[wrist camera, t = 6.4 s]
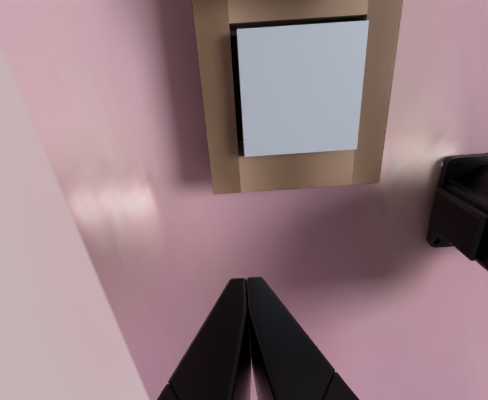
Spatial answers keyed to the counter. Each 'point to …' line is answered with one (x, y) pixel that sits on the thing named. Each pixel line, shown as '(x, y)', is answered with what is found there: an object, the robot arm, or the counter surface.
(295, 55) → the button slate
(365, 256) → the counter surface
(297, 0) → the wooden compartment tray
